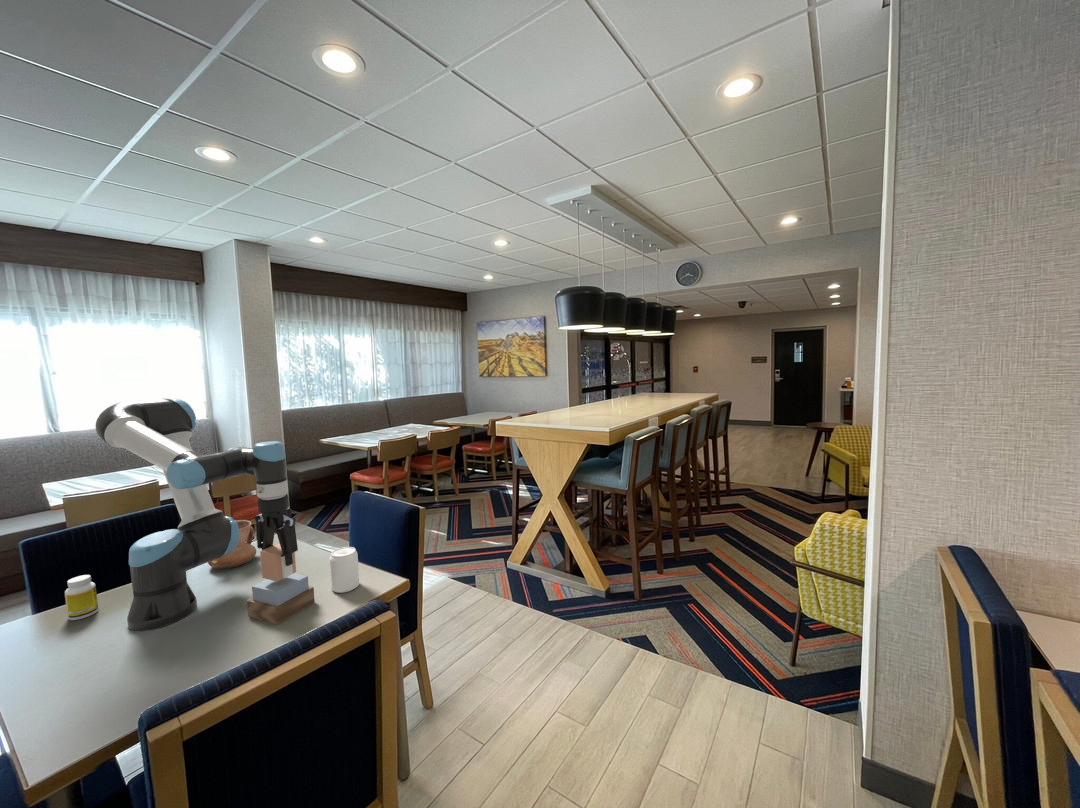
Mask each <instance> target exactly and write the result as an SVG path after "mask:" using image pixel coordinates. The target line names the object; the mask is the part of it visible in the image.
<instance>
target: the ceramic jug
mask: <svg viewBox="0 0 1080 808" xmlns="http://www.w3.org/2000/svg"><path fill="white" fill-rule="evenodd" d="M234 520H235V519H234ZM235 521H236V523H237V525H238V528H239V541H238V544H237V546H236V548H235V549H234V550H233V551H232V552H230V553H228V554H226V555H224V556H222V557H220V558H218V559H215V560H212V561H210V562H207V564H208V565H209V566H210V567H211V568H214V569H219V570H220V569H232V568H235V567H239V566H242V565H245V564H246V563H248V562H250V561H251V560H252V559H253V558H254V557H255V556H256V555H257V549H256V547H255V546H254V545H252V542H253V539H254V535H255V530H254V529H255V528H253V527H252V521H251V520H247V519H239V520H235Z"/></svg>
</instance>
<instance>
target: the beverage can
mask: <svg viewBox="0 0 1080 808" xmlns="http://www.w3.org/2000/svg"><path fill="white" fill-rule="evenodd" d="M358 558H359V557H358V551H357V550H356V548H355V547H354V546H344V547H343V546H342V547H339V548H336V549H334V550H333V551H331V552H330V556H329V568H330V572H329V573H330V583H331V590H332V591H333V593H334V592H335V593H339V594H340V593H341V594H342V593H343V594H344V593H348V592H351V591H353V590H354V589H356V588H358V586H359V585H360V572H359V571H360V570H359V559H358Z"/></svg>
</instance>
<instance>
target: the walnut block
mask: <svg viewBox="0 0 1080 808" xmlns="http://www.w3.org/2000/svg"><path fill="white" fill-rule="evenodd" d="M315 602H316V601H315V591H314V586H309V589H307V590H306V591H304V592H302V593H300V594H299V595H297V596H295V597H293V598H292V599H290V600H288V601H286V602H284V603H283V604H281V605H279V606H275V605H271V604H267V603H264V602H260V601H256V600H253V597H251V598H249V599H247V600H246V608H247V617H250V618H253V619H257V620H261V621H263V622H268V623H271V624H275V625H280V624H281V623H283V622H284V621H286V620H288V619H289V618H291V617H293V616H294V615H296V614H298V613H300V612H302V611H303V610H304V609H305V608H307V607H309V606H310V605H312V604H313V603H315Z"/></svg>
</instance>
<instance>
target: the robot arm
mask: <svg viewBox="0 0 1080 808" xmlns="http://www.w3.org/2000/svg"><path fill="white" fill-rule="evenodd" d="M193 409H194V408H192V405H190V404H189V403H188V402H186V401H185V400H182V399H181V398H165V397H164V398H161V399H150V400H149V399H147V400H146V399H145V400H134V401H133V400H132V401H122V402H118V403H115V404H112V405H110V406H108V407H106V408H105V409H104V410H103V411H101V413H100V414H99V415H98V417H97V419H96V422H95V431H96V434H97V435H98V437H99V438H100V439H101V441H103V442H105V443H106V444H108V445H109V446H111V447H114V448H120V449H121V448H122V449H125V450H126V451H128V452H131V453H132V454H134V455H136V456H137V457H139V458H141V459H143V460H145V461H147V462H149V464H150V463H151V464H152V465H154V466H156V467H157V468H160V469H161V470H162V471H163V474H164V477H165V479H166V482H167V484H168V487H169V490H170V493H171V495H172V496H171V497H172V498H173V501H174V504H175V506H176V508H177V511H178V514H179V517H180V519H181V521H180V523H179V524H178V526H177V528H170V529H165V530H163V531H162V530H161V531H156V532H153V533H150V534H148V535H145V536H143V537H142V538H140V539H138V540H136V541H135V542H134V543H132V545H131V546H130V548H129V551H128V565H129V570H130V572H129V573H130V578H131V586H132V596H133V597H132V601H131V605H130V607H129V611H128V615H127V620H126V621H127V627H128V629H130V630H131V631H137V632H138V631H150V630H155V629H159V628H161V627H162V628H163V627H166V626H168V625H172V624H174V623H177V622H178V621H181V620H182V619H185V618H186V617H188V616H189V615H191V614H192V613H193V612H195V610H196V609H197V607H198V601H197V597H196V595H195V593H194V591H193V590H192V589H191V587H190V585H189V583H188V580H187V572H188V571H190V570H192V569H195V568H197V567H199V566H203V565H205V564H208V562H210V561H212V560H215V559H218V558H220V557H222V556H224V555H226V554H228V553H230V552H232V551H233V550H234V549H235V548H236V546H237V544H238V541H239V528H238V525H237V523H236V521H235V519H234V518H233V517H232V516H226V515H224V512H223V510H221V509H218V508H215V505H214V502H213V500H212V497H211V495H210V493H209V489H208V487H207V484H211V483H214V482H215V483H216V482H219V481H223V480H228V479H231V478H235V477H240V476H242V475H243V476H244V475H252V476H255V484H256V496H257V498H258V499H257V509H258V512H259V513H260V514H256V515H255V516H254V520H255V524H256V525H255V526H256V544H257V546H256V547H257V549H259V550H260V549H261V551H262V550H264V549H266V548H269V547H271V546H274V545H275V544H274V539H275V534H276V536H277V539H278V543H280V546H281V549H282V553H283V554H282V555H281V564H282V576H283V578H286V577H288V576H289V575H291V574H293V568H292V564H293V558H292V553H294V552H298V551H299V548H298V539H297V531H296V522H297V521H296V518H295V517H292V518H290V517H289V516H288V512H287V509H288V508H289V507H290V501H289V494H288V493H289V487H288V486H289V484H288V478H287V464H286V463H287V462H286V457H287V456H286V452H285V447H284V446H285V445H284V443H283V442H282V441H280V440H279V441H278V440H272V441H270V440H269V441H261V442H257V443H255V444H254V445H253V446H252V448H251V447H244V446H239V447H230V448H228V449H227V450H226V451H221V452H216V453H212V454H205V455H204V454H203V455H202V454H201V453H199V452H196V451H194V450H193V448H192V446H191V442H190V438H191V437H192V436H193V432H192V431H194V429H195V428H196V425H197V421H196V420H197V417H196V413H195V411H194V410H193ZM273 544H274V545H273Z"/></svg>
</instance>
